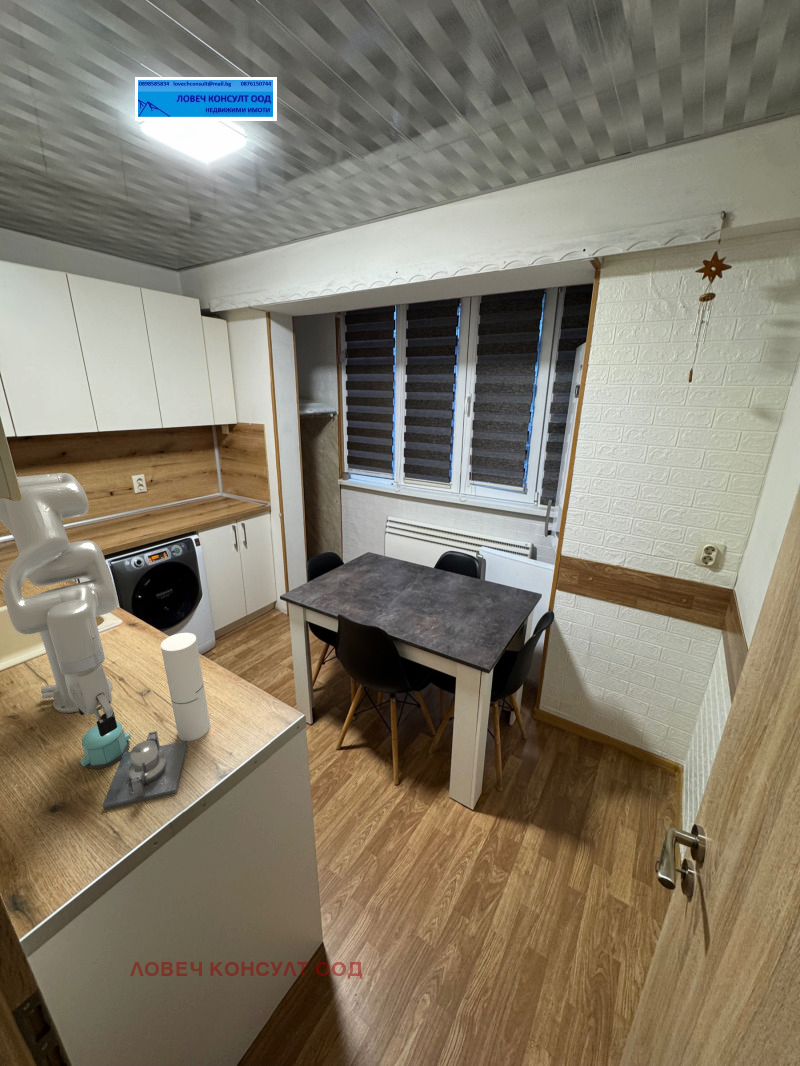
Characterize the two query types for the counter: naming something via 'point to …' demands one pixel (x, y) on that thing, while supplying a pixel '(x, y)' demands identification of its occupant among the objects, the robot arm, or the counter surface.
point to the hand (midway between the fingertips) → (98, 721)
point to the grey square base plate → (147, 772)
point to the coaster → (110, 761)
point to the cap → (103, 745)
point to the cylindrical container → (186, 685)
